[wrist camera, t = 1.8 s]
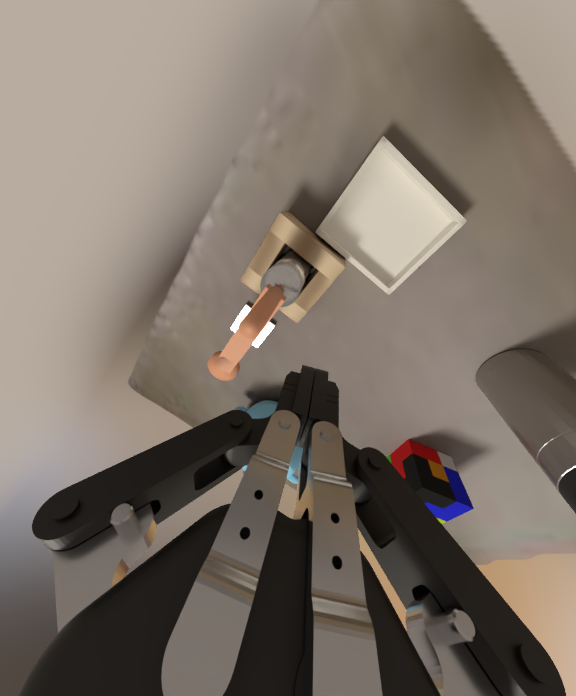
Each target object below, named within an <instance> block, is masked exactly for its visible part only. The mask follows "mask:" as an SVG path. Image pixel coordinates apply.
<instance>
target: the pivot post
mask: <svg viewBox="0 0 576 696" xmlns="http://www.w3.org/2000/svg"><path fill="white" fill-rule="evenodd" d="M251 308H252V306H251V305H249V304H248V303H247V304H246V305H245V307H244V308H243V310H242V311H241V313H240V314H239V316H238V317H237V319H236V320H235V322H234V324H233V325H232V327H231V328H230V329H231V330H232V331H234V332H236V330H237V329H238V327H239V324H240V322H241V321H242V320H243V319H244V318H245V316H246V315H247V314H248V312H249V311H250V309H251ZM275 325H276V324H275V323H274V322H272V321H271V320H270V321H269V323H268V324H267V325H266V326H265V328H264V329H263V330H262V332H261V333H260V334H259V336H258V337H257V338H256V340H255V341H254V342H253V344H252V345H254V346H255V347H256V348H258V347H259V345H260V344H261V343H262V342H263V340H264V339H265V338H266V336H267V335H268V334H269V333H270V331H271V330H272V329H273V328H274V326H275ZM223 350H224V349H223ZM240 360H241V359H240Z"/></svg>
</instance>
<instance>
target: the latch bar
mask: <svg viewBox="0 0 576 696" xmlns="http://www.w3.org/2000/svg"><path fill="white" fill-rule="evenodd" d="M286 298H287V297H286V296H285V295H283V292H282V290H281V289H280V288H279V287H276V286H272V285H270V284H268V285H267V286H266V287H265V288H264V290H263V291H262V293H261V294H260V296H259V297H258V299H257V300H256V302H255V303H254V305H253V306H252V308H251V309H250V311H249V312H248V314H247V315H246V316H245V318H244V319H243V320H242V321H241V322H240V324H239V327H238V329H237V330H236V332H235V333H234V335H233V336H232V338H231V339H230V341H229V342H228V344H227V345H226V347H225V348H224V350H223V351H218V352H216V353H214V355H213V356H212V357H211V358H210V359H209V361H208V369H209V371H210V372H211V374H212V375H213V376H215V377H216V378H218V379H220V380H224V381H228V380H232V379H233V378H234V377H235V376H236V374H237V373H238V371H239V368H240V365H239V361H240V359H241V358H242V357H243V355H244V354H245V353H246V351H247V350H248V349H249V348H250V346H251V345H252V344H253V342H254V341H255V340H256V338H257V337H258V336H259V334H260V333H261V332H262V330H263V329H264V328H265V326H266V325H267V324H268V323H269V321H270V320H271V319H272V317H273V316H274V315H275V313H276V312H277V311H278V309H279V308H280V307H281V305H282V304H283V303H284V301H285V300H286Z"/></svg>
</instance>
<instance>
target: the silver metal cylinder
mask: <svg viewBox="0 0 576 696" xmlns="http://www.w3.org/2000/svg"><path fill="white" fill-rule="evenodd" d="M310 268H311V264H310V263H309V262H308V261H306V260H305V259H304V258H303V257H302V256H300V255H299V254H298V253H297V252H295V251H294V250H293V251H290V252H288V253H287V254H286V255H285V256H283V257H282V258H281V259H280V260H279V261H278V262H277V263H276V264H274V265H273V266H272V267H271V268H270V269H269V270H268V271H267V272H266V273H265V274H264V275H263V277H262V279H261V283H260V289H261V293H262V291H263V290H264V288H265V287H266V286H267V285H268V284H270V285H272V286H276V287H279V288H280V289H281V290H282V292H283V295H285V296H286V297H287V298H286V300H285V301H284V303H283V304H282V305H281V307H287V306H289V305H291V304H293V303H294V302H295V301H296V299H297V298H298V295H299V293H300V291H301V289H302V287H303V285H304V283H305V280H306V278H307V276H308V274H309V272H310Z"/></svg>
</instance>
